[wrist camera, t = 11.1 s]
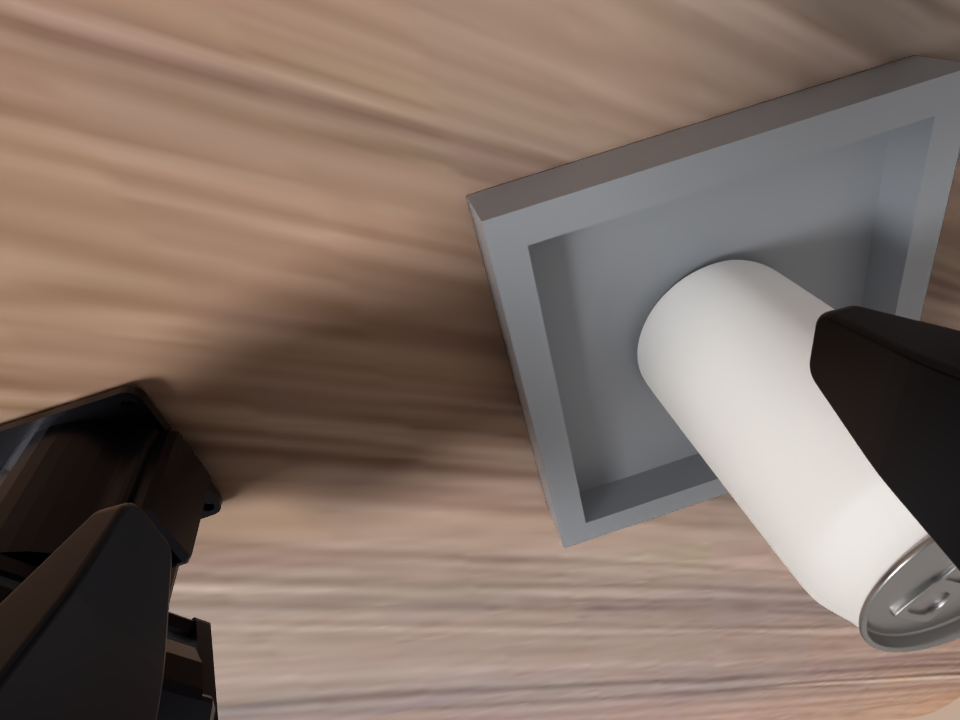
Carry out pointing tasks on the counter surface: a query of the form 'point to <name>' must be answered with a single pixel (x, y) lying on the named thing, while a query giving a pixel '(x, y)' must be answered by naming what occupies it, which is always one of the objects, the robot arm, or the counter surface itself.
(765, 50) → the counter surface
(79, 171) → the counter surface
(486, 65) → the counter surface
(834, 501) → the can
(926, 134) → the tray
